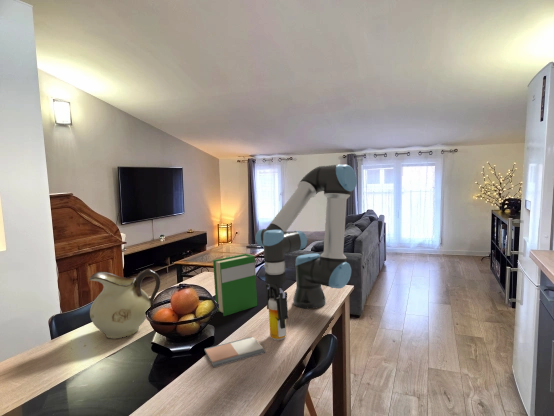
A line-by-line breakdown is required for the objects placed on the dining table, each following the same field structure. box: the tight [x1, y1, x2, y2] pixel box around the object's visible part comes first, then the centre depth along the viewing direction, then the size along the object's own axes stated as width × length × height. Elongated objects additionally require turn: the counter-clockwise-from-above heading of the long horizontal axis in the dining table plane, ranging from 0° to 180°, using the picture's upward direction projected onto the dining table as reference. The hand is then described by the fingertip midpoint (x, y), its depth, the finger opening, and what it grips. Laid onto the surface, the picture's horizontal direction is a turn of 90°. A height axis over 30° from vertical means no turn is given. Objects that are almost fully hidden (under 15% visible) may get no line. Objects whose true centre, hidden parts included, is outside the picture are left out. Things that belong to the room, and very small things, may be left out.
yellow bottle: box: [268, 298, 287, 341], centre depth 128 cm, size 6×6×15 cm
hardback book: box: [212, 253, 258, 317], centre depth 158 cm, size 18×7×24 cm, turn 127°
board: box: [204, 336, 266, 368], centre depth 119 cm, size 18×12×1 cm, turn 115°
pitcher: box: [89, 268, 162, 339], centre depth 139 cm, size 22×24×25 cm
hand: (278, 332), depth 128 cm, fingers closed on yellow bottle, 6 cm apart
